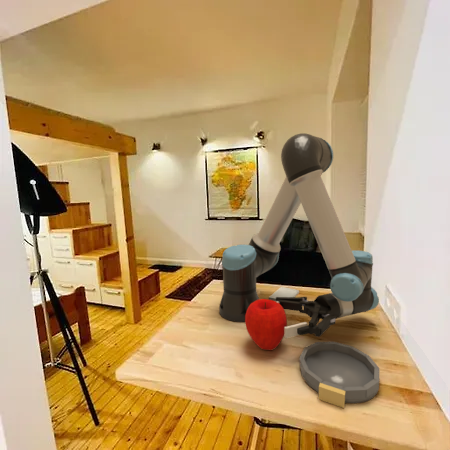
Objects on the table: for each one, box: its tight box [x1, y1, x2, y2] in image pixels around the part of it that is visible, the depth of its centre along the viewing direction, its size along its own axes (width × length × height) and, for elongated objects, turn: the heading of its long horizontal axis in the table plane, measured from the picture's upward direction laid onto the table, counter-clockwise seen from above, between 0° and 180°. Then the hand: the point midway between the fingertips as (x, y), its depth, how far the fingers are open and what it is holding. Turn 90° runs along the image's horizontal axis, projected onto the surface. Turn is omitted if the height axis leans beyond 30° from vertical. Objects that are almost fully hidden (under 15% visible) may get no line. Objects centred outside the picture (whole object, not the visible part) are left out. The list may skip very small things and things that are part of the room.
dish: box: [299, 341, 381, 409], centre depth 63 cm, size 17×18×3 cm
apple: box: [244, 298, 288, 351], centre depth 75 cm, size 12×12×13 cm
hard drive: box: [267, 286, 300, 302], centre depth 109 cm, size 2×8×12 cm
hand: (271, 320), depth 74 cm, fingers open, 13 cm apart
